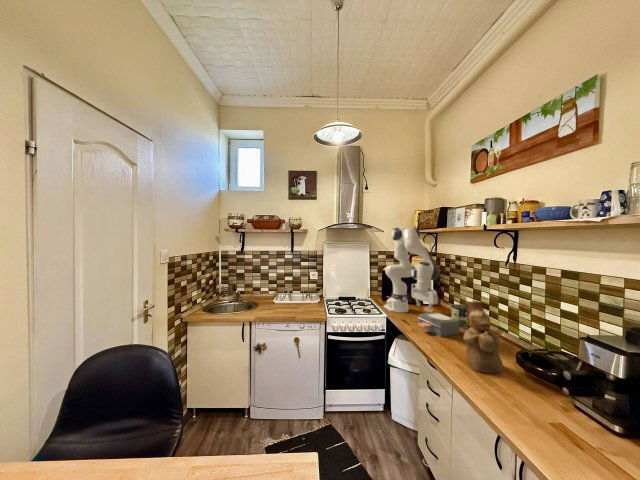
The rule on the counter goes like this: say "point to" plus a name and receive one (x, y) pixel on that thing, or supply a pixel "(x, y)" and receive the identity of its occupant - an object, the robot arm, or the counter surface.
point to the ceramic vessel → (481, 341)
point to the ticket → (425, 325)
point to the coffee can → (460, 315)
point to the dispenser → (440, 324)
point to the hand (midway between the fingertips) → (423, 307)
